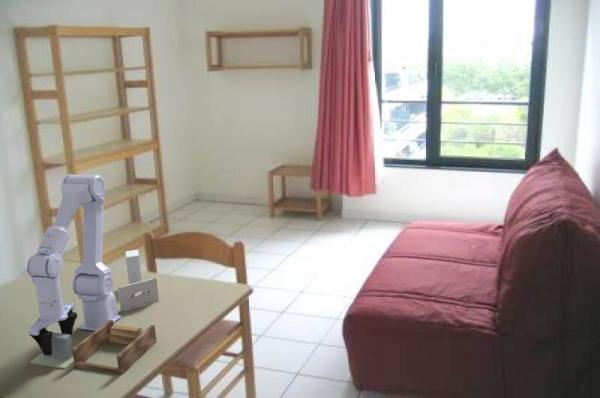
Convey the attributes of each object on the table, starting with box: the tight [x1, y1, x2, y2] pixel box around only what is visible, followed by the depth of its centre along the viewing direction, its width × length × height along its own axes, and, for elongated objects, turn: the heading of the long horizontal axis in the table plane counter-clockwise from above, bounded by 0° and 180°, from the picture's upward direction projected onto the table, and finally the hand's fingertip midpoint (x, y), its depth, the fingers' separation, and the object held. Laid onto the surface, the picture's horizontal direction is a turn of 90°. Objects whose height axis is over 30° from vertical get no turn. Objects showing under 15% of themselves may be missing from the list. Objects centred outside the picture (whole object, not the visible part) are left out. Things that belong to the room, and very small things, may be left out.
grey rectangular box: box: [43, 331, 74, 360], centre depth 151 cm, size 2×8×6 cm, turn 73°
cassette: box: [117, 277, 160, 312], centre depth 179 cm, size 12×2×8 cm, turn 124°
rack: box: [72, 320, 157, 375], centre depth 152 cm, size 16×14×5 cm
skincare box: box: [124, 249, 143, 285], centre depth 192 cm, size 6×4×12 cm
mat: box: [29, 346, 75, 370], centre depth 152 cm, size 9×11×1 cm
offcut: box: [109, 323, 143, 345], centre depth 158 cm, size 2×9×4 cm, turn 73°
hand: (57, 347), depth 151 cm, fingers open, 7 cm apart
